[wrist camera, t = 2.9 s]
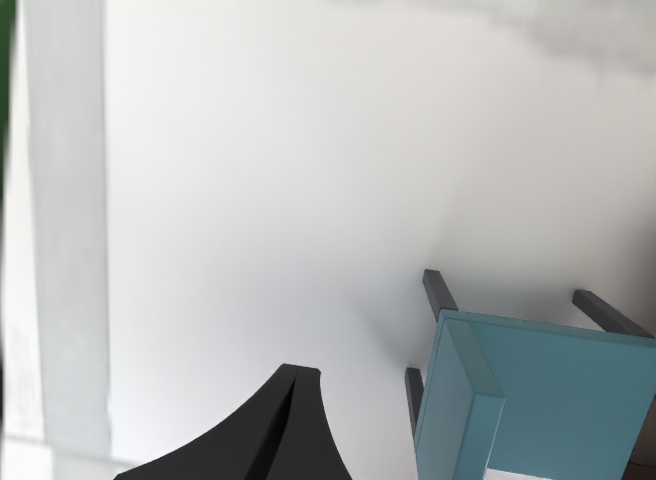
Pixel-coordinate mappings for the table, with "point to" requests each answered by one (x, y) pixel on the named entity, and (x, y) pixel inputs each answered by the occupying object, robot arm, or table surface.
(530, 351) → the chair
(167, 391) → the table surface
